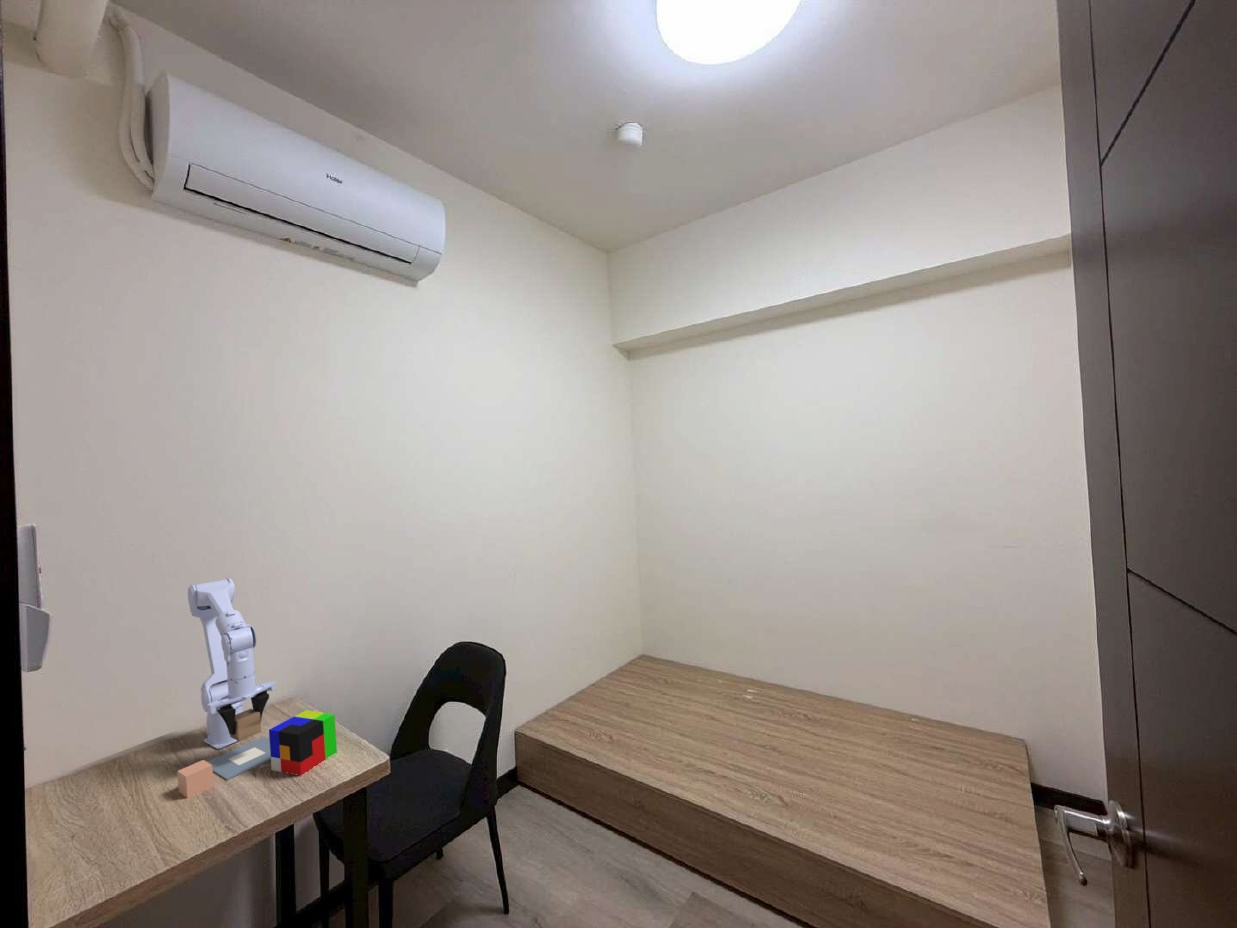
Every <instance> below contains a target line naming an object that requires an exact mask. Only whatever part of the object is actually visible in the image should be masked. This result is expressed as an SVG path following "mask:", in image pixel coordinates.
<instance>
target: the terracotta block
mask: <svg viewBox="0 0 1237 928" xmlns="http://www.w3.org/2000/svg"><path fill="white" fill-rule="evenodd" d="M214 782H215V781H214V772H213V766H212V765H211V764H210V763H208V761H206V760H205V759H202V760H199V761H197V762H195V763H193V764H191V765H188V766H186V767H184V768H181V769H179V770H177V785H178V786H177V787H178V793H180V795H182V796H183V797H184V798H186V799H190V798H192V797H194V796H196V795H198V794H199V793H202V792H205V791H206V790H208V789H211V788H212V787H214V786H215V785H214V784H215V783H214Z"/></svg>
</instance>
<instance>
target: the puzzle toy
mask: <svg viewBox="0 0 1237 928" xmlns="http://www.w3.org/2000/svg"><path fill="white" fill-rule="evenodd" d="M335 718H336V716H335V714H334V713H326V712H321V711H313V710H304V711H302V712H300V713H298V714H296V715H294V716H292V717H291V718H289V719H287V720H285V721H283V722H280V723H279V724H277V725H275V726H273V727H272V728H269V729H268V735H269V738H268V739H270V754H271V760H270V765H271V771H274V772H279V773H280V772H281V773H284V772H288V773H287V774H289V773H293V774H292V775H294V774H297V775H296V776H298V775H302V774H304V773H305V772H307V773H308V772H310V771H311V770H313V769H314V768H313V767H314V766H316V767H317V765H318V764H319V763H321V762H322V761H324V760H325V761H327V760H328V759H329V758H328V757H330V756H331V755H333V754H335V753H336V754H338V749H337V748H338V746H337V745H338V744H337V731H336V719H335ZM336 754H335V755H336ZM333 756H334V755H333ZM327 758H328V759H327ZM330 758H331V757H330ZM326 759H327V760H326ZM325 761H324V762H325ZM322 763H323V762H322ZM322 763H321V764H322ZM319 765H320V764H319ZM319 765H318V766H319ZM312 768H313V769H312ZM310 769H311V770H310ZM309 770H310V771H309ZM305 774H306V773H305ZM305 774H304V775H305ZM302 776H303V775H302Z"/></svg>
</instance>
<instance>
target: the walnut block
mask: <svg viewBox="0 0 1237 928" xmlns="http://www.w3.org/2000/svg"><path fill="white" fill-rule="evenodd" d="M261 723H262V719H261V720H260V712H257V711H255V710H253V708H250V709H247V710H243V712H241V713H239V714H236V715H235V726H236V734H234V735H231V734H230V737H231V738H233V739H235V740H237V742H240V741H244V740H246V739H248V738H250V737H252V736H254V735H257V734H260V733H262V724H261Z"/></svg>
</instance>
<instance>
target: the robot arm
mask: <svg viewBox="0 0 1237 928" xmlns="http://www.w3.org/2000/svg"><path fill="white" fill-rule="evenodd" d="M235 588H236V587H235V584H234V580H233V579H231V578H230V577H229V578H227V577H226V578H225V579H220V580H214V581H207V582H204V583H203V582H202V583H197V584H190V585H189V587H188V589H187V601H188V605H189V611H190V613H191V616H192V617H196V618H199V620H200V622H201V624H202V629H203V634H204V638H205V645H206V649H207V650H206V651H207V657H208V662H209V667H210V672H211V674H210V676H209V677H208V678H207V679H206V680H205V681H203V682H202V685H201V687H200V692H201V694H200V700H201V705H202V709H203V711H204V712H206V713H207V714H206V732H207V738H204V739H203V742H204V743H206V744H208V745H210V746H211V747H212V748H215V749H216V750H221V749H223V748H225V747H227V746H229V745H232V744H233V743H237V742H238V741H237V740H235V739H233V738H231V737H230V734H231V735H234V734H236V726H235V715H236V714H239V713H241V712H244V705H245V703H246V702H245V701H247V700H249V699H250V700H251V705H252V710H255V711H257V712H260V720H261V721H262V718H263V717H262V716H263V714H264V709H265V707H266V706H267V705H266V704H267V703H268V700H269V699H270V694H269V693H268V692H270V691H271V692H272V691H274V690H276V688H277V687H276V686H277V685H276V681H273V680H271V681H267V682H264V683H261V684H257V685H256V672H255V671H256V668H255V656H254V655H255V653H254V648H256V645H257V635H256V630H255V628H254V626H253V625H251V624H249V623H247V622H246V621H245V619H244V617H243V615H242V612H240V611H239V610H236V609H234V608H233V603H234V602H233V601H234V598H235V595H236V589H235Z"/></svg>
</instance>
